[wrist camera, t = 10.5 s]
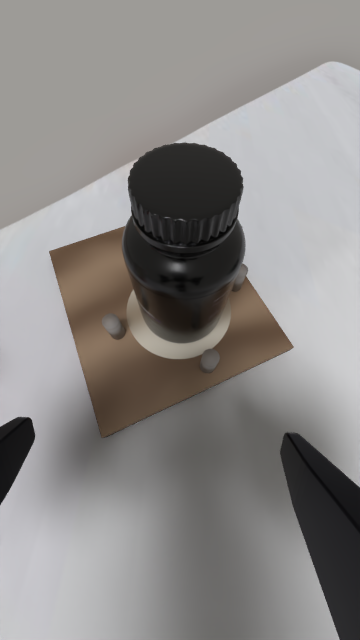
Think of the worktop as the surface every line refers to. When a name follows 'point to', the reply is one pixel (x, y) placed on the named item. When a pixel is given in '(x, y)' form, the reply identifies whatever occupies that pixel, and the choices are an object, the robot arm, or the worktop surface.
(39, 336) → the worktop surface
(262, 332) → the plate
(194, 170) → the supplement bottle
